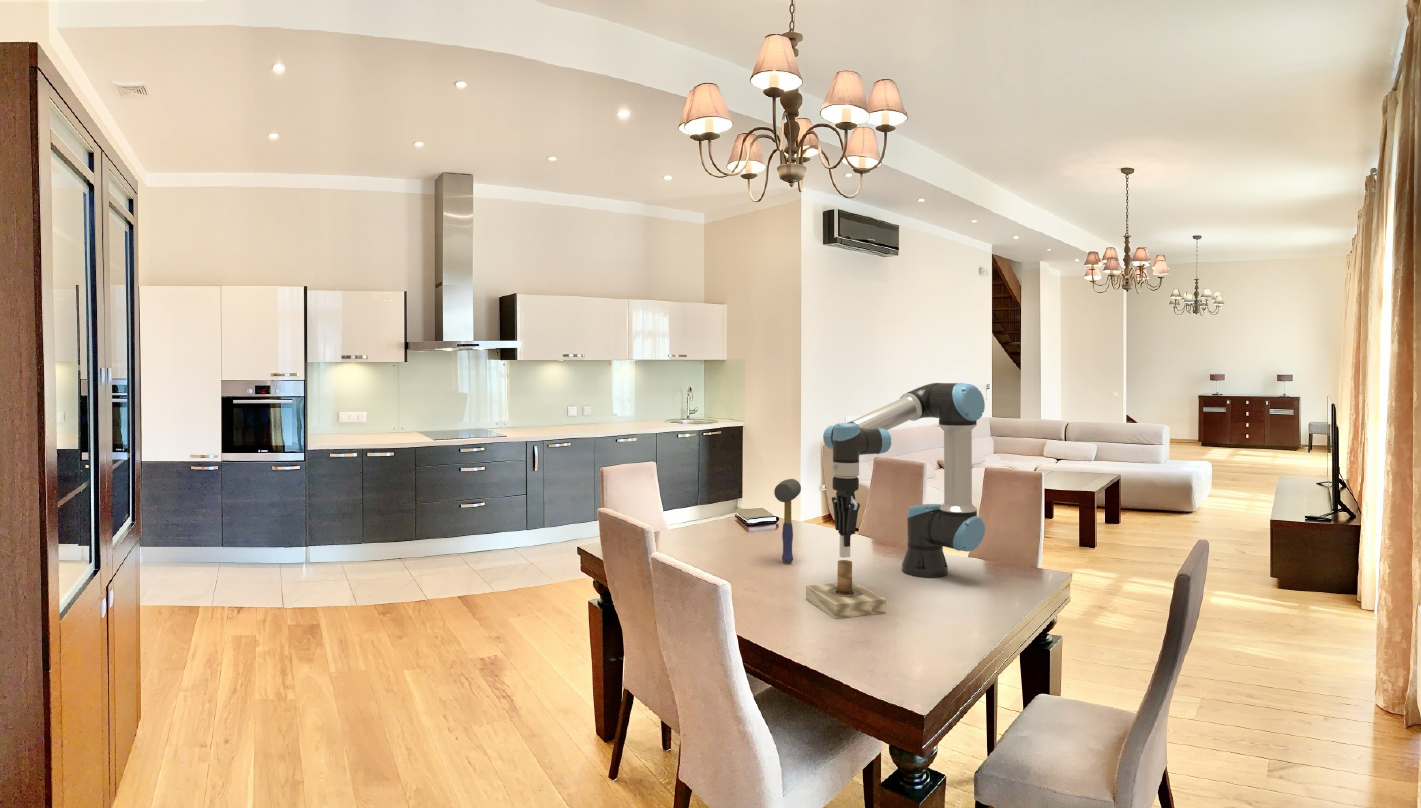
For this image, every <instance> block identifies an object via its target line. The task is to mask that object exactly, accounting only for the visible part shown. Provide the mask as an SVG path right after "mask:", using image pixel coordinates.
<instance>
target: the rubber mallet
mask: <svg viewBox="0 0 1421 808" xmlns="http://www.w3.org/2000/svg"><path fill="white" fill-rule="evenodd" d="M801 491H802V486H801V483H800V482H799V481H798V480H797V479H795V478H788V479H784V480H782V481H780V482H779V483H778V484H777V485H776V486H775V488H774V491H773V495H774V497H775V498H776V500H777V501H778V502H781V503H784V504H783V505H784V508H783V509H784V511H783V512H784V513H783V515H784V516H783V517H784V519H783V525H782V533H781V537H782V538H781V539H782V556H781V560H782V562H783V563H784V564H785V565H790V564H792V563H793V561H794V554H793V540H794V529H793V524H792V523H793V522H792V501H793V500H795V499H796V498H797V497H798V496H799V495H800V494H801Z"/></svg>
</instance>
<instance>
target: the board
mask: <svg viewBox="0 0 1421 808" xmlns="http://www.w3.org/2000/svg"><path fill="white" fill-rule="evenodd" d="M805 600H806V601H808V602H809V603H811V604H812V605H814V606H815V607H817V608H819V609H820V610H822V611H823V612H824V613H826V614H827V615H829V616H831V617H832V618H833V619H843V618H853V617H861V616H863V617H864V616H870V615H871V616H872V615H879V614H886V613H887V598H885V597H883V596H881V595H880V594H878V593H876V592H874V591H872V590H871V589H868V588H866V587H864V586H863V585H861V584H859V583H858V582H855V581H853V580H852V592H851V595H840V594H839V592H838V591H837V582H833V583H824V584H822V583H820V584H813V585H805Z"/></svg>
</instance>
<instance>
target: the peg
mask: <svg viewBox="0 0 1421 808" xmlns="http://www.w3.org/2000/svg"><path fill="white" fill-rule="evenodd" d="M852 581H853V561H851V560H846V559H841V560H840V559H839V560H838V561H837V582H836V583H837V591H838V592H839V594H840V595H851V592H852Z"/></svg>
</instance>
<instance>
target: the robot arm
mask: <svg viewBox="0 0 1421 808" xmlns="http://www.w3.org/2000/svg"><path fill="white" fill-rule="evenodd" d="M985 402H986V401H985V398H984V395H983V393H982V391H981V390H980V389H979V387H977V386H975V385H974V384H971V383H964V382H952V383H951V382H933V383H932V382H931V383H929V384H928V383H927V384H924V385H921V386H920V387H916V388H915V389H912V390H910V391H908V392H905V393H903V394H902V395H901V396H900V397H899V399H897V400H895V401H893V402H890V403H889V404H886V405H884V406H882V407H880V408H877V409H875V410H873V411H870V412H869V413H866V414H863V415H861V416H860V417H859V416H858V417H857V418H855V419H853V420H851V421H848V422H839V423H836V424H834V425H828V427H826V429H825V430H824V431H823V438H822V439H823V443H824V445H825V447H827V448H828V449H832V465H831V468H832V474H833V477H832V490H834V491H836V493H835V496H832V497H831V501H832V502H831V503H832V507H833V517H834V526H835V527H834V528H835V530H836V531H837V532H838V534H839V557H840V558H851V536H852V535H855V534H856V529H857V521H858V515H859V511H860V507H861V504H860V502H859V503H858V502H857V501H856V495H855V494H856V493H855V492H856V491H858V490H859V489H860V487H859V486H860V479H859V477H858V476H859V475H860V456H862V455H863V456H864V455H875V454H876V455H880V454H885V453H887V452H888V451H889V450H890V449H891V446H892V436H891V434H890V432H889V430H891V429H893V428H896V427H897V426H900V425H902V424H904V423H907V422H908V421H912V422H913V421H918V420H920V419H924V418H926V419H928V418H936V419H938V425H939V427H940V428H941V429H942V430H943V493H944V494H943V500H944V502H943V503H942V504H941V503H928V504H915V505H911V506H909V508H908V510H907V517H906V520H907V521H906V522H907V548H906V552H905V554H904V558H903V560H902V563H901V571H902V572H903V573H905V574H906V575H910V576H914V577H920V578H940V577H945V576H947V575H948V573H949V567H948V563H947V559H946V556H945V554H944V550H943V549H944V548H943V547H945V548H949V549H953V550H955V551H962V552H972V551H975V550H976V549H977V548H978V547H979V546H980V544H981V543H982V541H983V540H984V538H985V537H984V536H985V532H986V525H985V522H984V520H983V519H982V518H980V517H979V516H978V509H977V507H976V506H975V505H974V504H973V501H972V500H973V489H972V488H973V486H972V485H973V474H972V473H973V461H972V459H973V457H972V456H973V455H972V454H973V452H972V451H973V446H972V444H973V441H972V440H973V439H972V437H973V436H972V434H973V429H974V428H975V427H977V424H978V423H977V421H978V420H980V418H981V417H983V414H984V413H985V410H986V409H985V407H986V405H985V404H986V403H985Z"/></svg>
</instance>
